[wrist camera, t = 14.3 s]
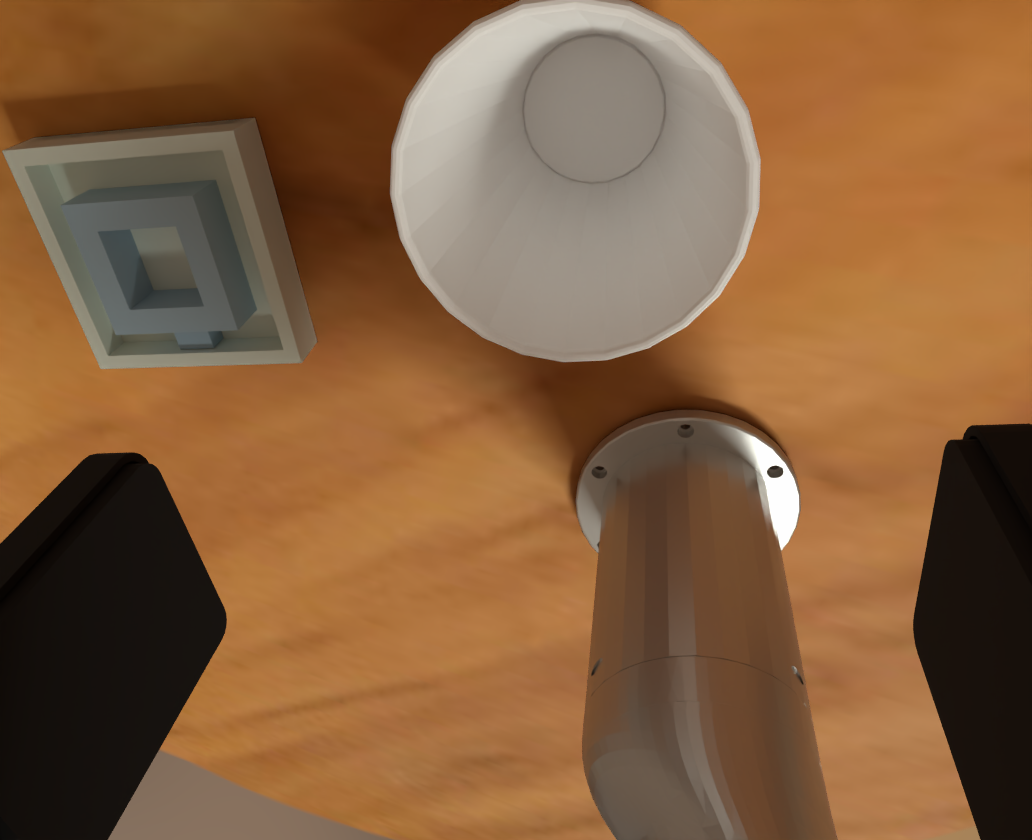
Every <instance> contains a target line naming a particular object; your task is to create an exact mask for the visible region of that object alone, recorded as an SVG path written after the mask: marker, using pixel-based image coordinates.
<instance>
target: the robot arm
mask: <svg viewBox="0 0 1032 840" xmlns="http://www.w3.org/2000/svg"><path fill="white" fill-rule="evenodd" d="M684 424H687V425H684ZM576 510H577V518H578V521H579V524H580V527H581V529H582V532H583V534H584V535H585V537H586V539H587V540H588V542H589V544H590V545H591V546H592V548H593V549H594V550H595V551H596V552H597V553H598V564H597V575H596V587H595V599H594V610H593V622H592V633H591V645H590V657H589V668H588V680H587V692H586V703H585V714H584V723H583V735H582V758H583V765H584V772H585V776H586V780H587V783H588V786H589V789H590V792H591V795H592V798H593V800H594V802H595V804H596V806H597V808H598V810H599V812H600V814H601V816H602V818H603V819H604V821H605V823H606V824H607V826H608V827H609V829H610V830H611V832H612V833H613V835H614V836H615V838H616V839H617V840H838V839H837V835H836V831H835V827H834V823H833V819H832V815H831V811H830V806H829V801H828V797H827V792H826V787H825V782H824V778H823V773H822V768H821V763H820V758H819V752H818V747H817V742H816V736H815V731H814V726H813V720H812V715H811V710H810V704H809V699H808V693H807V688H806V683H805V677H804V672H803V667H802V661H801V656H800V650H799V645H798V640H797V634H796V629H795V624H794V618H793V613H792V607H791V602H790V597H789V591H788V586H787V580H786V575H785V570H784V564H783V559H782V554H781V551H782V550H783V548H784V547H785V546H786V545H787V543H788V542H789V541H790V539H791V537H792V535H793V533H794V531H795V529H796V527H797V523H798V519H799V515H800V510H801V506H800V490H799V486H798V482H797V477H796V474H795V472H794V470H793V467H792V465H791V463H790V460H789V459H788V458H787V456H786V455H785V454H784V452H783V451H782V450H781V448H780V447H779V446H778V445H777V444H776V443H775V442H774V441H773V440H772V439H771V438H769V437H768V436H767V435H766V434H765V433H764V432H762V431H760V430H759V429H757V428H755V427H753V426H752V425H750V424H748V423H747V422H745V421H742V420H739V419H736V418H733V417H731V416H728V415H725V414H720V413H715V412H709V411H704V410H673V411H666V412H659V413H655V414H651V415H648V416H645V417H641V418H638V419H635V420H633V421H631V422H629V423H627V424H625V425H623V426H621V427H619V428H618V429H616V430H615V431H614V432H612V433H611V434H610V435H608V436H607V437H606V438H604V439H603V440H602V441H601V442H600V443H599V444H598V445H597V447H596V448H595V449H594V450H593V451H592V452H591V453H590V455H589V457H588V459H587V460H586V462H585V464H584V466H583V468H582V470H581V474H580V477H579V481H578V484H577V494H576ZM226 622H227V619H226V612H225V609H224V606H223V604H222V602H221V600H220V598H219V596H218V594H217V592H216V589H215V587H214V585H213V583H212V581H211V579H210V577H209V575H208V572H207V570H206V568H205V566H204V564H203V562H202V560H201V558H200V556H199V553H198V551H197V549H196V547H195V545H194V543H193V541H192V539H191V536H190V534H189V532H188V530H187V528H186V526H185V524H184V522H183V520H182V517H181V515H180V513H179V511H178V509H177V507H176V505H175V503H174V500H173V498H172V496H171V494H170V492H169V490H168V488H167V486H166V484H165V481H164V479H163V477H162V475H161V473H160V471H159V470H158V468H157V467H155V466H154V465H153V464H149V463H148V461H147V460H146V458H144V457H143V456H142V455H140V454H137V453H102V454H93V455H89V456H88V457H87V458H85V459H84V460H83V461H82V462H81V463H80V464H79V465H78V466H77V467H76V468H75V469H74V470H73V471H72V472H71V473H70V474H69V475H68V476H67V477H66V478H65V479H64V480H63V481H62V482H61V483H60V484H59V485H58V486H57V487H56V488H55V489H54V490H53V491H52V492H51V493H50V494H49V495H48V496H47V497H46V498H45V499H44V500H43V501H42V502H41V503H40V504H39V505H38V506H37V507H36V508H35V509H34V510H33V511H32V512H31V513H30V514H29V515H28V516H27V517H26V518H25V519H24V520H23V521H22V522H21V523H20V524H19V525H18V526H17V528H16V529H15V530H14V531H13V532H12V533H11V534H10V535H9V536H8V537H7V538H6V539H5V540H4V541H3V542H2V543H1V544H0V840H108V838H109V836H110V835H111V833H112V831H113V829H114V828H115V826H116V824H117V822H118V820H119V819H120V817H121V815H122V814H123V812H124V810H125V808H126V807H127V805H128V803H129V801H130V800H131V798H132V796H133V794H134V792H135V791H136V789H137V787H138V785H139V784H140V782H141V780H142V779H143V777H144V775H145V773H146V771H147V770H148V768H149V766H150V765H151V763H152V761H153V759H154V758H155V756H156V754H157V752H158V751H159V749H160V747H161V745H162V744H163V742H164V740H165V738H166V737H167V735H168V733H169V731H170V730H171V728H172V726H173V724H174V722H175V721H176V719H177V717H178V715H179V714H180V712H181V710H182V708H183V707H184V705H185V703H186V701H187V700H188V698H189V696H190V694H191V693H192V691H193V689H194V687H195V686H196V684H197V682H198V680H199V679H200V677H201V675H202V673H203V672H204V670H205V668H206V666H207V665H208V663H209V661H210V659H211V658H212V656H213V654H214V652H215V651H216V649H217V647H218V645H219V644H220V642H221V640H222V638H223V636H224V634H225V629H226ZM913 630H914V639H915V645H916V649H917V653H918V656H919V658H920V661H921V664H922V667H923V670H924V673H925V676H926V679H927V682H928V685H929V688H930V691H931V694H932V697H933V700H934V703H935V706H936V709H937V712H938V715H939V718H940V721H941V724H942V727H943V730H944V732H945V735H946V738H947V741H948V744H949V747H950V750H951V753H952V756H953V759H954V762H955V765H956V768H957V771H958V774H959V777H960V780H961V783H962V786H963V789H964V792H965V795H966V798H967V801H968V804H969V806H970V809H971V812H972V815H973V818H974V821H975V824H976V827H977V830H978V833H979V836H980V839H981V840H1032V425H1031V424H1003V425H972V426H970V427H969V428H968V429H967V430H966V432H965V433H964V437H963V440H950V441H948V442H947V444H946V446H945V450H944V454H943V459H942V465H941V470H940V475H939V481H938V486H937V492H936V497H935V503H934V508H933V514H932V519H931V525H930V530H929V536H928V541H927V547H926V552H925V558H924V563H923V569H922V574H921V580H920V585H919V591H918V596H917V601H916V607H915V612H914V620H913Z"/></svg>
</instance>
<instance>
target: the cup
mask: <svg viewBox="0 0 1032 840" xmlns="http://www.w3.org/2000/svg"><path fill="white" fill-rule="evenodd" d="M760 163H761V158H760V154H759V150H758V146H757V142H756V138H755V134H754V130H753V126H752V123H751V119H750V115H749V111H748V108H747V106H746V104H745V103H744V101H743V99H742V98H741V96H740V94H739V92H738V91H737V89H736V87H735V86H734V84H733V82H732V81H731V79H730V77H729V75H728V74H727V72H726V70H725V69H724V67H723V65H722V64H721V62H720V61H719V60H718V59H717V58H716V57H714V56H713V55H712V54H711V53H710V52H709V51H708V50H707V49H706V48H705V47H704V46H703V45H702V44H700V43H699V42H698V41H697V40H696V39H695V38H694V37H693V36H692V35H691V34H690V33H689V32H688V31H686V30H685V29H684V28H683V27H682V26H681V25H679V24H677V23H675V22H673V21H671V20H669V19H667V18H665V17H663V16H661V15H659V14H657V13H655V12H653V11H651V10H649V9H647V8H645V7H643V6H641V5H638V4H636V3H634V2H632V1H629V0H520V1H518V2H515V3H513V4H511V5H509V6H507V7H504V8H502V9H500V10H498V11H496V12H493V13H491V14H489V15H487V16H485V17H482V18H480V19H478V20H476V21H474V22H472V23H471V24H470V25H469V26H468V27H467V28H465V29H464V30H463V31H462V32H461V33H460V34H458V35H457V36H456V37H455V38H454V39H453V40H452V41H450V42H449V43H448V44H447V45H446V46H445V47H444V48H442V49H441V50H440V51H439V52H438V53H437V54H435V55H434V56H433V58H432V59H431V61H430V63H429V64H428V66H427V67H426V69H425V70H424V72H423V73H422V75H421V76H420V78H419V80H418V81H417V83H416V84H415V86H414V87H413V89H412V90H411V92H410V93H409V95H408V97H407V98H406V101H405V104H404V107H403V111H402V114H401V117H400V120H399V123H398V127H397V130H396V133H395V136H394V140H393V143H392V150H391V177H390V197H391V201H392V206H393V210H394V215H395V219H396V224H397V228H398V233H399V237H400V240H401V242H402V244H403V246H404V248H405V250H406V252H407V254H408V256H409V258H410V260H411V262H412V264H413V266H414V268H415V270H416V272H417V274H418V276H419V278H420V279H421V281H422V282H423V283H424V284H425V285H426V287H427V288H428V289H429V290H430V291H431V292H432V294H433V295H434V296H435V297H436V298H437V300H438V301H439V302H440V303H441V304H442V306H443V307H444V308H445V309H446V310H447V311H448V312H449V313H450V314H451V315H453V316H454V317H455V318H457V319H458V320H459V321H461V322H462V323H464V324H465V325H466V326H468V327H469V328H470V329H472V330H473V331H474V332H476V333H477V334H478V335H480V336H481V337H482V338H485V339H487V340H489V341H492V342H494V343H496V344H498V345H501V346H503V347H505V348H508V349H510V350H512V351H515V352H517V353H519V354H522V355H527V356H532V357H538V358H543V359H548V360H554V361H559V362H581V361H603V360H609V359H613V358H616V357H620V356H623V355H627V354H630V353H634V352H637V351H641V350H644V349H648V348H650V347H652V346H653V345H655V344H657V343H659V342H660V341H662V340H664V339H666V338H668V337H669V336H671V335H673V334H675V333H676V332H678V331H680V330H682V329H683V328H685V327H687V326H688V325H689V324H690V323H691V322H692V321H693V320H694V319H695V318H696V317H697V316H698V315H700V314H701V313H702V312H703V311H704V310H705V309H706V308H707V307H708V306H709V305H710V304H711V303H712V302H713V301H714V300H715V299H716V298H717V297H719V296H720V294H721V292H722V291H723V289H724V288H725V286H726V284H727V283H728V281H729V280H730V278H731V276H732V275H733V273H734V272H735V270H736V269H737V267H738V265H739V264H740V262H741V261H742V259H743V257H744V256H745V253H746V250H747V246H748V243H749V240H750V237H751V233H752V230H753V227H754V224H755V220H756V217H757V214H758V211H759V196H760Z"/></svg>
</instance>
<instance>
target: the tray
mask: <svg viewBox="0 0 1032 840" xmlns="http://www.w3.org/2000/svg"><path fill="white" fill-rule="evenodd" d="M2 152H3V154H4V156H5V158H6V161H7V163H8V165H9V167H10V169H11V172H12V174H13V176H14V178H15V180H16V183H17V185H18V187H19V189H20V192H21V194H22V196H23V198H24V200H25V203H26V205H27V207H28V209H29V211H30V214H31V216H32V218H33V220H34V222H35V225H36V227H37V229H38V231H39V234H40V236H41V238H42V240H43V242H44V245H45V247H46V249H47V251H48V253H49V256H50V258H51V260H52V262H53V264H54V267H55V269H56V271H57V273H58V275H59V278H60V280H61V282H62V284H63V287H64V289H65V291H66V293H67V295H68V298H69V300H70V302H71V304H72V306H73V309H74V311H75V313H76V315H77V317H78V320H79V322H80V324H81V326H82V329H83V331H84V333H85V335H86V337H87V340H88V342H89V344H90V346H91V348H92V351H93V353H94V355H95V357H96V359H97V362H98V364H99V366H100V368H101V369H117V368H151V367H184V366H218V365H252V364H285V363H302V362H303V361H304V359H305V358H306V357H307V355H308V354H309V352H310V351H311V350H312V348H313V347H314V346H315V344H316V343H317V338H316V335H315V331H314V328H313V324H312V320H311V317H310V313H309V310H308V306H307V302H306V299H305V295H304V292H303V288H302V285H301V281H300V277H299V274H298V270H297V267H296V263H295V259H294V256H293V252H292V249H291V245H290V241H289V238H288V234H287V231H286V227H285V223H284V220H283V216H282V213H281V209H280V205H279V202H278V198H277V195H276V191H275V187H274V184H273V180H272V177H271V173H270V170H269V166H268V162H267V159H266V155H265V152H264V148H263V144H262V141H261V137H260V134H259V130H258V126H257V123H256V119H255V118H245V119H234V120H223V121H212V122H201V123H190V124H179V125H168V126H157V127H146V128H135V129H123V130H112V131H101V132H90V133H79V134H68V135H57V136H46V137H35V138H32V139H29V140H27V141H25V142H22V143H20V144H17V145H15V146H13V147H10V148H8V149H5V150H3V151H2ZM207 180H216V182H217V185H218V188H219V191H220V194H221V197H222V201H223V204H224V207H225V210H226V213H227V216H228V220H229V223H230V226H231V229H232V232H233V235H234V238H235V242H236V245H237V248H238V251H239V254H240V257H241V260H242V264H243V267H244V270H245V273H246V276H247V279H248V282H249V286H250V289H251V292H252V295H253V298H254V301H255V305H256V308H257V310H256V311H255V312H254V314H253V315H252V316H251V317H250V318H249V319H248V320H247V321H246V322H245V323H244V324H243V325H242V326H241V328H240V329H239V330H232V331H221V332H222V334H223V337H224V338H223V339H222V340H221V341H220V342H219V343H218V344H217V345H216V346H215V347H214V348H204V349H180V347H179V345H178V342H177V339H176V337H175V334H174V333H155V334H130V335H116V334H115V332H114V329H113V327H112V325H111V322H110V320H109V318H108V315H107V313H106V311H105V308H104V306H103V304H102V301H101V299H100V297H99V294H98V292H97V290H96V287H95V285H94V283H93V280H92V278H91V276H90V274H89V271H88V269H87V267H86V264H85V262H84V260H83V257H82V255H81V253H80V250H79V248H78V246H77V243H76V241H75V239H74V236H73V234H72V232H71V229H70V227H69V225H68V222H67V220H66V218H65V215H64V213H63V211H62V208H61V206H60V205H62V204H64V203H65V202H67V201H69V200H71V199H73V198H75V197H76V196H78V195H80V194H82V193H84V192H86V191H87V190H90V189H103V188H116V187H129V186H142V185H155V184H168V183H181V182H194V181H207ZM130 231H131V233H132V236H133V238H134V241H135V243H136V246H137V249H138V251H139V254H140V256H141V259H142V261H143V264H144V267H145V269H146V272H147V274H148V277H149V279H150V282H151V285H152V287H153V290H170V289H190V288H197V285H196V282H195V279H194V277H193V274H192V271H191V268H190V265H189V262H188V260H187V257H186V254H185V251H184V248H183V246H182V243H181V240H180V237H179V234H178V232H177V229H176V226H175V227H160V228H145V229H130Z"/></svg>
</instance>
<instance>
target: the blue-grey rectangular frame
mask: <svg viewBox="0 0 1032 840" xmlns="http://www.w3.org/2000/svg"><path fill="white" fill-rule="evenodd" d="M60 206H61V208H62V211H63V213H64V215H65V218H66V220H67V222H68V225H69V227H70V229H71V232H72V234H73V236H74V239H75V241H76V243H77V246H78V248H79V250H80V253H81V255H82V257H83V260H84V262H85V264H86V267H87V269H88V271H89V274H90V276H91V278H92V280H93V283H94V285H95V287H96V290H97V292H98V294H99V297H100V299H101V301H102V304H103V306H104V308H105V311H106V313H107V315H108V318H109V320H110V322H111V325H112V327H113V329H114V332H115V334H116V335H130V334H155V333H174V334H175V337H176V339H177V342H178V345H179V347H180V349H204V348H214V347H215V346H216V345H217V344H218V343H219V342H220V341H221V340H222V339H223V338H224V337H223V334H222V332H221V331H232V330H239V329H240V328H241V326H242V325H243V324H244V323H245V322H246V321H247V320H248V319H249V318H250V317H251V316H252V315H253V314H254V312H255V311H256V310H257V308H256V305H255V301H254V298H253V295H252V292H251V289H250V286H249V282H248V279H247V276H246V273H245V270H244V267H243V264H242V260H241V257H240V254H239V251H238V248H237V245H236V242H235V238H234V235H233V232H232V229H231V226H230V223H229V220H228V216H227V213H226V210H225V207H224V204H223V201H222V197H221V194H220V191H219V188H218V185H217V182H216V180H207V181H194V182H181V183H168V184H155V185H142V186H129V187H116V188H103V189H90V190H87V191H86V192H84V193H82V194H80V195H78V196H76V197H75V198H73V199H71V200H69V201H67V202H65V203H64V204H62V205H60ZM175 226H176V229H177V232H178V234H179V237H180V240H181V243H182V246H183V248H184V251H185V254H186V257H187V260H188V262H189V265H190V268H191V271H192V274H193V277H194V279H195V282H196V285H197V288H190V289H170V290H153V287H152V285H151V282H150V279H149V277H148V274H147V272H146V269H145V267H144V264H143V261H142V259H141V256H140V254H139V251H138V249H137V246H136V243H135V241H134V238H133V236H132V233H131V231H130V229H145V228H160V227H175Z"/></svg>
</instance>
